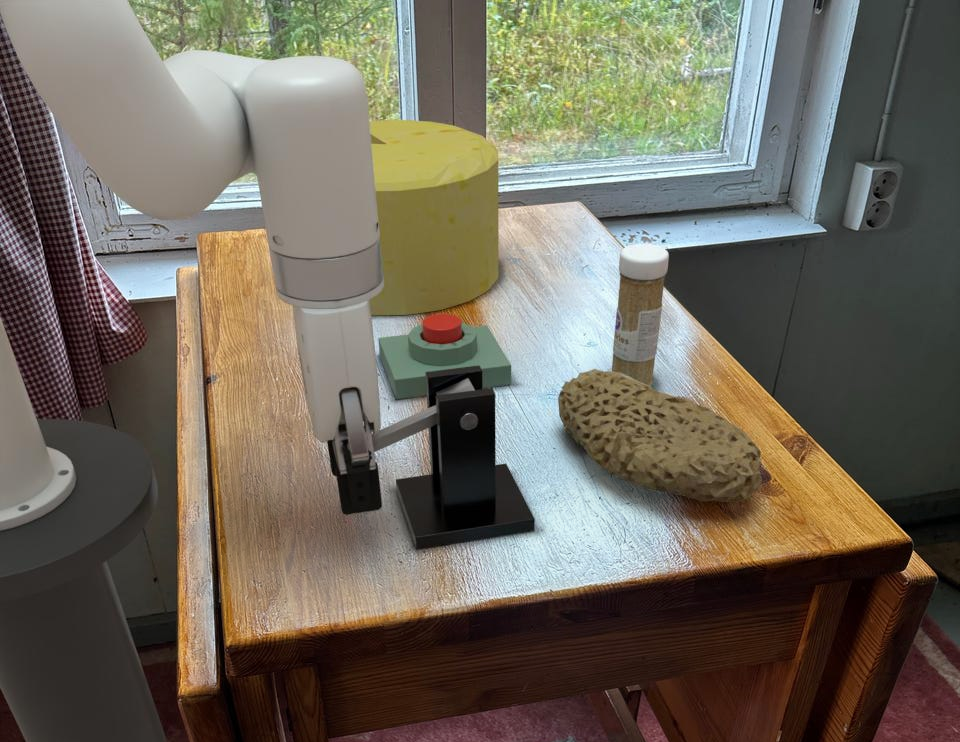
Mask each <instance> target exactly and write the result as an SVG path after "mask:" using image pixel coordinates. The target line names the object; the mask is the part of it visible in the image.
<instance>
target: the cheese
mask: <svg viewBox="0 0 960 742" xmlns="http://www.w3.org/2000/svg"><path fill="white" fill-rule="evenodd" d="M369 123H370V134H371V145H372V157H373V168H374V179H375V190H376V201H377V212H378V222H379V233H380V244H381V255H382V266H383V278H384V288H383V289H382V291H381V292H380V293H379V294H378V295H376V296H375V297H373V298H372V299H369V300H370V309H371V316H409V315H416V314H423V313H430V312H436V311H442V310H446V309H448V308H449V309H450V308H453V307H455V306H458V305H462V304H465V303H469V302H471V301H472V300H474V299H476V298H477V297H479V296H481V295H483V294H485V293H486V292H489V291H490V289H492V287H493V286H494V284H495V283H496V282H497V281H498V279H499V149H498V148H497V147H496V146H495V145H494V144H493V143H491V142H490V141H489V140H487V138H485V137H484V136H483V135H481V134H478V133H476V132H474V131H473V132H472V131H470V130H467V129H465V128H462V127H459V126H456V125H451V124H448V123H447V124H446V123H440V122H435V121H427V120H411V119H389V120H387V119H386V120H385V119H383V120H381V119H379V120H371V121H370V120H369Z"/></svg>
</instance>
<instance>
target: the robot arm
mask: <svg viewBox="0 0 960 742" xmlns="http://www.w3.org/2000/svg"><path fill="white" fill-rule="evenodd" d="M0 16H1V18H2V22H3V25H4V28H5V30H6V33H7V35H8V38H9V41H10V42H11V45H12V47H13V49H14V52H15V54H16V56H17V58H18V60H19V61H20V64H21V66H22V67H23V69H24V71H25V73H26V75H27V77H28V78H29V80H30V83H31V84H32V86H33V87H34V88H35V90H36V91H37V93H38V95H39V96H40V98H41V99H42V101H43V103H44V104H45V105H46V107H47V108H48V110H49V111H50V113H51V114H52V115H53V117H54V118H55V120H56V121H57V122H58V124H59V126H60V127H61V128H62V129H63V131H64V133H65V134H66V136H67V137H68V138H69V139H70V141H71V142H72V144H73V145H74V147H75V148H76V149H77V151H78V152H79V153H80V155H81V156H82V158H83V159H84V160H85V162H86V163H87V164H88V165H89V167H90V168H91V170H92V171H94V174H96V175H97V177H98V178H99V179H100V180H101V181H102V182H103V184H104V185H105V186H107V188H108V189H109V190H110V191H111V192H112V193H113V194H115V196H116V197H117V198H118V199H119V200H121V201H122V202H124V203H125V204H126V205H128V206H129V207H130V208H132V209H133V210H135V211H137V212H139V213H141V214H142V215H145V216H146V217H150V218H153V219H157V220H161V221H172V222H173V221H179V220H180V221H181V220H186V219H189V218H192V217H194V216H197V215H198V214H200V213H201V212H204V211H205V210H206V209H207V208H208V207H210V206H211V205H212V204H213V203H215V201H216V200H217V199H218V198H219V196H221V194H222V193H223V192H224V191H225V190H226V189H227V188H228V186H230V184H232V183H234V182H235V181H238V179H241V178H242V177H244V176H246V175H248V174H253V175H255V176H256V178H257V184H258V191H259V196H260V201H261V209H262V214H263V219H264V226H265V232H266V238H267V239H266V240H267V243H268V250H269V256H270V262H271V268H272V275H273V280H274V285H275V293H276V296H277V297H278V299H279V300H281V301H282V302H284V303H285V304H288V305H291V306H292V313H293V323H294V331H295V338H296V343H297V350H298V357H299V362H300V364H299V365H300V370H301V371H300V372H301V377H302V385H303V393H304V398H305V401H306V406H307V410H308V415H309V419H310V422H311V426H312V430H313V434H314V437H315V438H316V439H317V440H318V441H319V442H320V443H322V444H323V443H327V449H328V457H329V465H330V471H331V475H333V476H334V477H336V483H337V490H338V498H339V504H340V510H341V513H342V514H343V515H344V516H349V515H355V514H362V513H368V512H369V513H370V512H374V511H375V512H376V511H379V510H381V509H382V507H383V501H382V492H381V483H380V473H379V464H378V462H377V461H376V455H375V452H374V448H373V441H372V433H373V435H376V434H377V433H378V432H379V430H381V429H382V419H381V417H382V416H381V404H380V403H381V402H380V388H379V387H380V386H379V376H378V365H377V364H378V363H377V356H376V347H375V345H376V344H375V337H374V327H373V321H372V320H373V318H372V315H371V309H370V300H369V299H372V298H373V297H375V296H376V295H378V294H379V293H380V292H381V291H382V289H383V288H384V278H383V266H382V255H381V244H380V233H379V222H378V212H377V201H376V190H375V179H374V168H373V157H372V145H371V134H370V123H369V121H370V113H369V103H368V94H367V88H366V83H365V80H364V78H363V76H362V74H361V72H360V71H359V69H358V68H357V67H356V66H355V65H354V64H353V63H351V62H349V61H348V60H344V59H341V58H338V57H334V56H326V55H301V56H300V55H298V56H289V57H282V58H277V59H273V60H272V59H265V58H257V57H256V58H255V57H249V56H243V55H237V54H233V53H226V52H220V51H215V50H203V49H192V50H185V51H181V52H177V53H175V54H173V55H171V56H169V57H167V58H166V59H164V60H163V59H162V57H161V56H160V54H159V53H158V51H157V50H156V48H155V46H154V45H153V43H152V42H151V40H150V38H149V37H148V35H147V34H146V32H145V30H144V28H143V26H142V25H141V23H140V21H139V19H138V18H137V16H136V13H135V11H134V9H133V8H132V6H131V4H130V2H129V0H0ZM331 440H335V446H336V453H337V459H338V465H339V468H338V465H337V461H336V457H335V454H334V450H333V446H332V442H331ZM343 441H348V443H349V450H346V452H345V454H344V448H343ZM75 483H76V473H75V470H74V467H73V465H72V462H71V460H70V459H69V458H68V457H67V456H66V455H65V454H63V453H61V452H60V451H58V450H55V449H52V448H49V447H46V445H45V442H44V439H43V436H42V433H41V430H40V428H39V425H38V422H37V416H36V413H35V411H34V408H33V405H32V402H31V399H30V397H29V394H28V390H27V387H26V386H25V381H24V380H23V377H22V374H21V372H20V369H19V365H18V363H17V360H16V357H15V354H14V351H13V348H12V346H11V343H10V339H9V337H8V334H7V332H6V328H5V326H4V322H3V320H2V317H1V316H0V531H3V530H8V529H12V528H15V527H18V526H21V525H24V524H27V523H29V522H32V521H34V520H36V519H38V518H40V517H42V516H44V515H46V514H47V513H49V512H51V511H52V510H54V509H55V508H56V507H58V506H59V505H60V504H62V503H63V502H64V501H65V499H66V498H67V497H68V496H69V495H70V494H71V492H72V490H73V489H74V487H75Z"/></svg>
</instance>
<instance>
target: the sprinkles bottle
mask: <svg viewBox="0 0 960 742" xmlns="http://www.w3.org/2000/svg"><path fill="white" fill-rule="evenodd" d="M669 259H670V254H669V252H668V250H667V249H665V248H664V247H662V246H659V245H656V244H652V243H635V244H630V245H627V246H625V247H623V248H622V249H621V251H620V253H619V260H618V261H619V262H618V271H619V287H618V298H617V308H616V312H615V313H616V314H615V324H614V325H615V326H614V335H613V343H612V344H613V345H612V352H613V353H612V363H611V370H610V371H611V372H619V373H622V374H624V375H627V376H629V377H631V378H633V379H635V380H637V381H639V382H642V383H644V384H646V385H649V386H650V387H651V388H652V386H653V385H654V382H655V381H654V379H655V378H654V369H655V362H656V356H657V352H658V344H659V343H658V342H659V336H660V328H661V319H662V310H663V297H664V296H663V294H664V286H665V278H666V275H667V273H668V268H669Z"/></svg>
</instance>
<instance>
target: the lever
mask: <svg viewBox="0 0 960 742" xmlns="http://www.w3.org/2000/svg"><path fill="white" fill-rule="evenodd" d="M473 390H475V389H474V387H473V385H472V384H471V382H470V380H469V378H467V379H465V380H462V381H460V382H458V383H456V384H454V385H451V386H449V387H447V388H445V389H443V390H440V391H438V392H437V393H436V394H437V395H442V394H450V393H458V392H465V391H473ZM436 424H437V405H435V406H432V407H430V408H428V409H427V408H426V409H423V410H421V411H419V412H417V413H415V414H413V415H411V416H408V417H406V418H404V419H402V420H401V419H400V420H399V421H396V422H395V423H392V424H390V425H388V426H386V427H384V428H381V429H380V430H379V432H378V433H377V434H376V435H373V432H372V441H373V448H374V453H376V452H378V451H381V450H383V449H385V448H387V447H389V446H391V445H394V444H395V443H396V444H397V443H398V442H400V441H403V440H404V439H407V438H409V437H411V436H414V435H417V434H418V433H421V432H423V431H424V430H427V429H429V427H432V426H434V425H436ZM331 442H332V446H333V450H334V454H335V457H336V461H337V465H338V459H337V453H336V446H335V440H331ZM343 448H344V454H345V452H346V450H349V443H348V441H343ZM338 468H339V465H338Z"/></svg>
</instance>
